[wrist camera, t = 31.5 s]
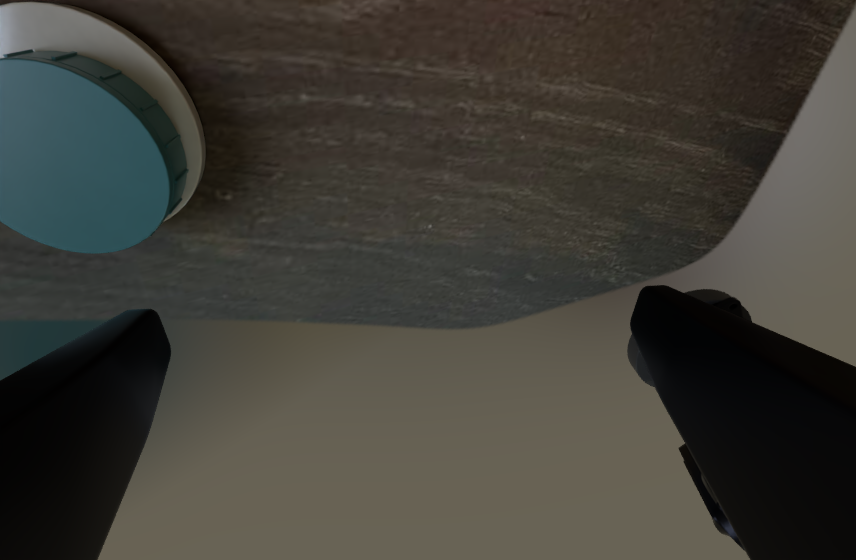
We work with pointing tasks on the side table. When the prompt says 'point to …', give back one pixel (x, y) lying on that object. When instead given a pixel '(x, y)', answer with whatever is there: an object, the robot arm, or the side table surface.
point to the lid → (84, 154)
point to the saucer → (117, 49)
